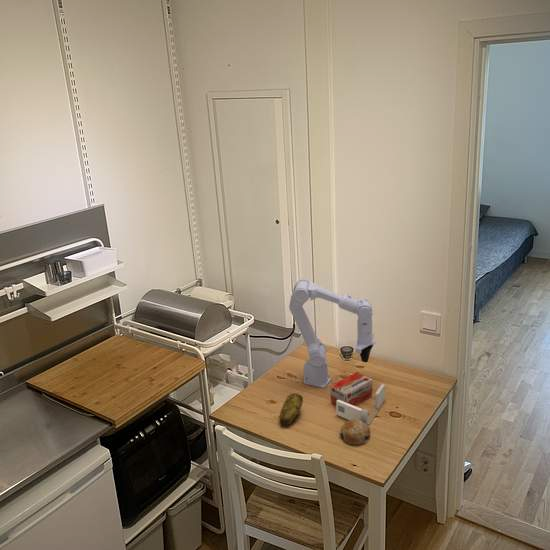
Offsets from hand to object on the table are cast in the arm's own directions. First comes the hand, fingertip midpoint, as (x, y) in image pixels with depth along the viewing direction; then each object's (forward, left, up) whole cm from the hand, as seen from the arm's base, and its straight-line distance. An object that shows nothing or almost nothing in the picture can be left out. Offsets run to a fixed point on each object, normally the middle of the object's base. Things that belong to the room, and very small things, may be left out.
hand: (364, 361), depth 232 cm
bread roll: (+9, -35, -10) cm, 37 cm away
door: (+4, -26, -10) cm, 28 cm away
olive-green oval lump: (-17, -34, -10) cm, 39 cm away
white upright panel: (+10, -19, -10) cm, 24 cm away
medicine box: (0, -13, -11) cm, 17 cm away
